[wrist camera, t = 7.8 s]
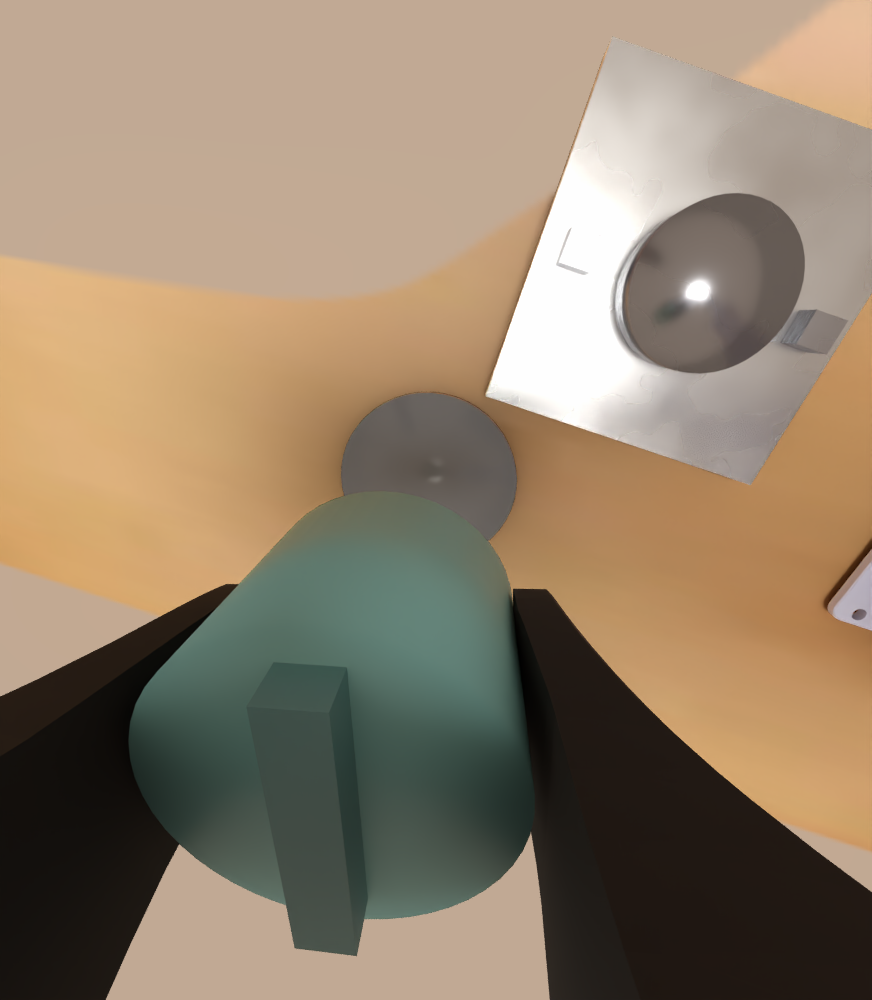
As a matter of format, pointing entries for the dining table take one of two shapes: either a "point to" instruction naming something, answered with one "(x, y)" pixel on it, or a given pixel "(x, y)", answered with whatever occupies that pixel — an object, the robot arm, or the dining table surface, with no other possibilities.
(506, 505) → the coaster
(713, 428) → the post plinth
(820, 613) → the dining table surface
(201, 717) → the cap
